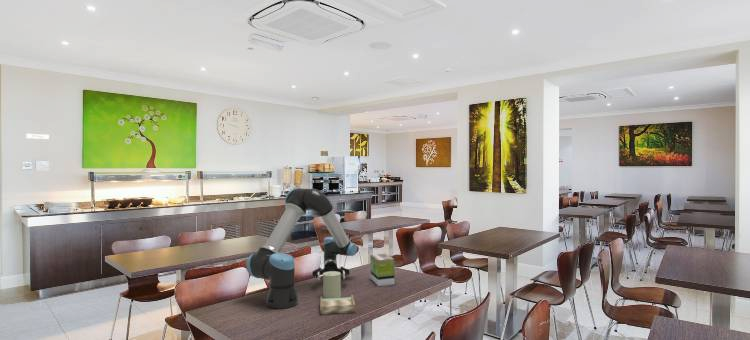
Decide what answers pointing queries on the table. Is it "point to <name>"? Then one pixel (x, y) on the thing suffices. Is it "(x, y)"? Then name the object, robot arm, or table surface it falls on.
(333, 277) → the can
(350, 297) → the tailgate
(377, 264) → the tea box
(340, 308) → the tray
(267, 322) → the table surface
